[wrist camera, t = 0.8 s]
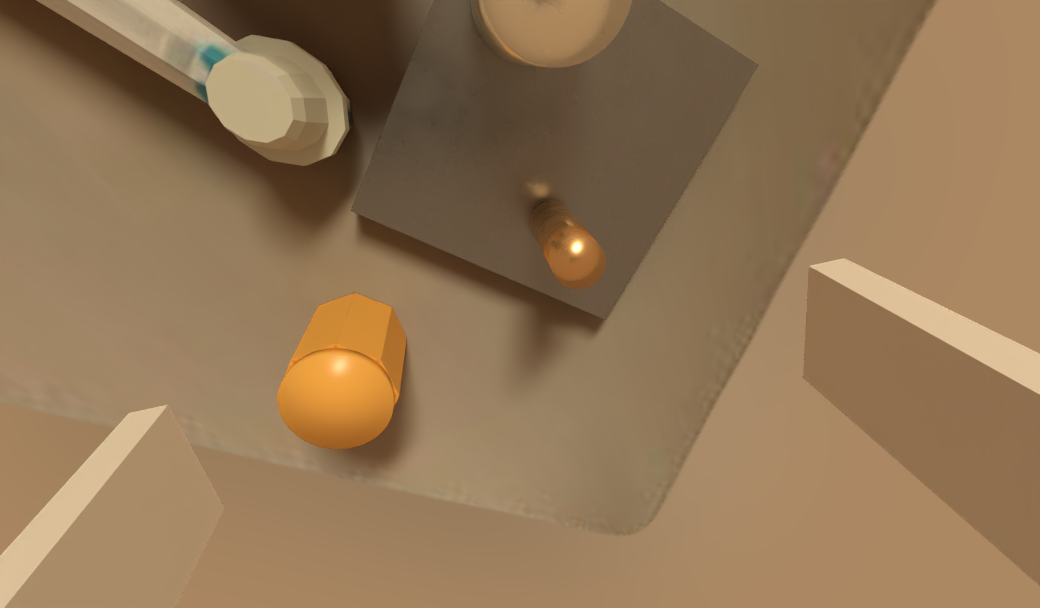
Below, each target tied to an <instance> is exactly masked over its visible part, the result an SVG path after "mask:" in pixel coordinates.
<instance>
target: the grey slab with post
mask: <svg viewBox="0 0 1040 608" xmlns="http://www.w3.org/2000/svg"><path fill="white" fill-rule="evenodd" d="M757 67H758V64H756V63H755V62H753V61H752V60H750V59H748V58H747V57H745V56H744V55H742V54H741V53H739V52H738V51H736V50H735V49H733V48H732V47H730V46H729V45H727V44H725V43H724V42H722V41H721V40H719V39H718V38H716V37H715V36H713V35H712V34H710V33H709V32H707V31H705V30H704V29H702V28H701V27H699V26H698V25H696V24H695V23H693V22H692V21H690V20H689V19H687V18H686V17H684V16H682V15H681V14H679V13H678V12H676V11H675V10H673V9H672V8H670V7H669V6H667V5H666V4H664V3H662V2H661V1H659V0H434V2H433V4H432V7H431V9H430V12H429V14H428V17H427V19H426V22H425V24H424V27H423V29H422V32H421V35H420V37H419V40H418V42H417V45H416V47H415V50H414V52H413V55H412V57H411V60H410V62H409V65H408V67H407V70H406V72H405V75H404V77H403V80H402V82H401V85H400V87H399V90H398V93H397V95H396V98H395V100H394V103H393V105H392V108H391V110H390V113H389V115H388V118H387V120H386V123H385V125H384V128H383V130H382V133H381V135H380V138H379V140H378V143H377V145H376V148H375V151H374V153H373V156H372V158H371V161H370V163H369V166H368V168H367V171H366V173H365V176H364V178H363V181H362V183H361V186H360V188H359V191H358V193H357V196H356V198H355V201H354V203H353V206H352V209H351V211H352V212H354V213H357V214H359V215H361V216H364V217H366V218H368V219H371V220H373V221H375V222H378V223H380V224H382V225H385V226H387V227H389V228H392V229H394V230H396V231H399V232H401V233H403V234H406V235H408V236H410V237H413V238H415V239H417V240H420V241H422V242H424V243H427V244H429V245H431V246H434V247H436V248H438V249H441V250H443V251H445V252H448V253H450V254H452V255H455V256H457V257H459V258H462V259H464V260H466V261H469V262H471V263H473V264H476V265H478V266H480V267H483V268H485V269H487V270H490V271H492V272H494V273H497V274H499V275H501V276H504V277H506V278H508V279H511V280H513V281H515V282H518V283H520V284H522V285H525V286H527V287H529V288H532V289H534V290H536V291H539V292H541V293H543V294H546V295H548V296H550V297H553V298H555V299H557V300H560V301H562V302H565V303H567V304H569V305H572V306H574V307H576V308H579V309H581V310H583V311H586V312H588V313H590V314H593V315H595V316H597V317H600V318H602V319H604V320H606V319H607V317H608V315H609V314H610V312H611V310H612V309H613V307H614V305H615V304H616V302H617V300H618V299H619V297H620V295H621V294H622V292H623V290H624V289H625V287H626V285H627V284H628V282H629V280H630V279H631V277H632V275H633V274H634V272H635V270H636V269H637V267H638V265H639V264H640V262H641V260H642V259H643V257H644V255H645V254H646V252H647V250H648V249H649V247H650V245H651V244H652V242H653V240H654V239H655V237H656V235H657V234H658V232H659V230H660V229H661V227H662V225H663V224H664V222H665V220H666V219H667V217H668V215H669V214H670V212H671V210H672V209H673V207H674V205H675V204H676V202H677V200H678V199H679V197H680V195H681V194H682V192H683V190H684V189H685V187H686V185H687V184H688V182H689V180H690V179H691V177H692V175H693V174H694V172H695V170H696V169H697V167H698V165H699V164H700V162H701V160H702V159H703V157H704V155H705V154H706V152H707V150H708V149H709V147H710V145H711V144H712V142H713V140H714V139H715V137H716V135H717V134H718V132H719V130H720V129H721V127H722V125H723V124H724V122H725V120H726V119H727V117H728V115H729V114H730V112H731V110H732V109H733V107H734V105H735V104H736V102H737V100H738V99H739V97H740V95H741V94H742V92H743V90H744V89H745V87H746V85H747V84H748V82H749V80H750V79H751V77H752V75H753V74H754V72H755V70H756V69H757Z"/></svg>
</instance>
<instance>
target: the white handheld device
mask: <svg viewBox="0 0 1040 608" xmlns="http://www.w3.org/2000/svg"><path fill="white" fill-rule="evenodd" d="M36 1H38V2H40V3H41V4H43V5H45V6H46V7H48V8H50V9H51V10H53V11H55V12H56V13H58V14H59V15H61V16H63V17H64V18H66V19H68V20H69V21H71V22H73V23H74V24H76V25H78V26H79V27H81V28H83V29H84V30H86V31H88V32H89V33H91V34H93V35H94V36H96V37H98V38H99V39H101V40H103V41H104V42H106V43H108V44H109V45H111V46H113V47H114V48H116V49H118V50H119V51H121V52H123V53H124V54H126V55H128V56H129V57H131V58H133V59H134V60H136V61H138V62H139V63H141V64H143V65H144V66H146V67H147V68H149V69H151V70H152V71H154V72H156V73H157V74H159V75H161V76H162V77H164V78H166V79H167V80H169V81H171V82H172V83H174V84H176V85H177V86H179V87H181V88H182V89H184V90H186V91H187V92H189V93H191V94H192V95H194V96H196V97H197V98H199V99H201V100H202V101H204V102H206V103H207V104H209V106H210V107H211V109H212V110H213V111H214V113H215V114H216V116H217V117H218V118H219V120H220V121H221V123H222V124H223V125H224V127H225V128H226V129H227V130H229V131H230V132H232V133H233V134H234V135H235V137H236V138H237V139H238V140H239V141H240V142H242V143H243V144H245V145H246V146H248V147H250V148H251V149H253V150H254V151H256V152H257V153H259V154H260V155H262V156H264V157H265V158H267V159H268V160H270V161H275V162H281V163H288V164H294V165H300V166H306V165H310V164H312V163H314V162H317V161H319V160H322V159H324V158H327V157H329V156H332V155H334V154H336V152H337V150H338V149H339V147H340V145H341V144H342V142H343V140H344V138H345V137H346V135H347V133H348V131H349V130H350V128H351V126H352V120H351V109H350V99H348V98H347V97H346V95H345V94H344V92H343V91H342V89H341V87H340V86H339V84H338V83H337V81H336V79H335V78H334V76H333V73H332V72H331V71H330V70H329V69H328V68H327V66H326V65H325V64H323V63H322V62H321V61H319V60H318V59H316V58H315V57H313V56H312V55H311V54H309V53H308V52H306V51H305V50H303V49H302V48H300V47H299V46H298V45H296V44H295V43H293V42H290V41H285V40H280V39H274V38H268V37H262V36H257V35H250V36H247V37H245V38H243V39H240V40H238V41H234V40H233V39H231V38H230V37H229V36H227V35H226V34H224V33H223V32H222V31H220V30H219V29H217V28H216V27H215V26H213V25H212V24H210V23H209V22H208V21H206V20H205V19H203V18H202V17H201V16H199V15H198V14H196V13H195V12H194V11H192V10H191V9H189V8H188V7H187V6H185V5H184V4H182V3H181V2H180V1H178V0H36Z"/></svg>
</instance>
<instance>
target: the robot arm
mask: <svg viewBox="0 0 1040 608" xmlns="http://www.w3.org/2000/svg"><path fill="white" fill-rule="evenodd" d="M808 275H809V276H808V294H807V313H806V332H805V351H804V352H805V353H804V370H803V378H804V379H805V380H806V381H807V382H808V383H809V384H811V385H812V386H813V387H814V388H815V389H816V390H817V391H818V392H820V393H821V394H822V395H823V396H824V397H825V398H826V399H828V400H829V401H830V402H831V403H832V404H833V405H834V406H836V407H837V408H838V409H839V410H840V411H841V412H842V413H844V414H845V415H846V416H847V417H848V418H849V419H850V420H852V421H853V422H854V423H855V424H856V425H857V426H858V427H859V428H861V429H862V430H863V431H864V432H865V433H866V434H867V435H869V436H870V437H871V438H872V439H873V440H874V441H876V442H877V443H878V444H879V445H880V446H881V447H882V448H883V449H885V450H886V451H887V452H888V453H889V454H890V455H891V456H892V457H894V458H895V459H896V460H897V461H898V462H899V463H900V464H902V465H903V466H904V467H905V468H906V469H908V471H910V472H911V473H912V474H913V475H914V476H915V477H917V478H918V479H919V480H920V481H921V482H922V483H923V484H925V485H926V486H927V487H928V488H929V489H930V490H931V491H932V492H933V493H935V494H936V495H937V496H938V497H939V498H940V499H942V500H943V501H944V502H945V503H946V504H947V505H948V506H949V507H951V508H952V509H953V510H954V511H955V512H956V513H957V514H959V515H960V516H961V517H962V518H963V519H964V520H965V521H967V522H968V523H969V524H970V525H971V526H972V527H973V528H975V529H976V530H977V531H978V532H979V533H980V534H981V535H982V536H984V537H985V538H986V539H987V540H988V541H989V542H990V543H992V544H993V545H994V546H995V547H996V548H997V549H999V550H1000V551H1001V552H1002V553H1003V554H1004V555H1005V556H1006V557H1007V558H1009V559H1010V560H1011V561H1012V562H1014V564H1015V565H1017V566H1018V567H1019V568H1020V569H1021V570H1022V571H1023V572H1025V573H1026V574H1027V575H1028V576H1029V577H1030V578H1031V579H1033V580H1034V581H1035V582H1036V583H1037V584H1038V585H1039V586H1040V354H1039V353H1037V352H1035V351H1033V350H1031V349H1029V348H1027V347H1025V346H1023V345H1020V344H1019V343H1016V342H1014V341H1012V340H1010V339H1008V338H1006V337H1004V336H1002V335H1000V334H998V333H996V332H994V331H992V330H990V329H988V328H986V327H984V326H982V325H980V324H977V323H975V322H974V321H971V320H969V319H967V318H965V317H963V316H961V315H959V314H957V313H955V312H953V311H951V310H949V309H947V308H945V307H943V306H941V305H939V304H936V303H935V302H933V301H931V300H928V299H926V298H924V297H922V296H920V295H918V294H916V293H914V292H912V291H910V290H908V289H906V288H904V287H902V286H899V285H898V284H896V283H894V282H892V281H890V280H888V279H886V278H883V277H881V276H879V275H877V274H875V273H873V272H871V271H869V270H867V269H865V268H863V267H861V266H859V265H857V264H855V263H853V262H851V261H849V260H847V259H845V258H844V259H839V260H835V261H830V262H825V263H821V264H816V265H812V266H809V274H808ZM223 510H224V506H223V505H222V503H221V501H220V499H219V497H218V496H217V494H216V492H215V490H214V488H213V486H212V484H211V483H210V481H209V479H208V477H207V475H206V473H205V472H204V470H203V468H202V466H201V464H200V462H199V461H198V459H197V457H196V455H195V453H194V451H193V449H192V447H191V446H190V444H189V442H188V440H187V438H186V436H185V435H184V433H183V431H182V429H181V427H180V425H179V424H178V422H177V420H176V418H175V416H174V414H173V412H172V411H171V409H170V407H169V405H165V406H160V407H155V408H151V409H146V410H141V411H137V412H132V413H129V414H128V415H127V416H126V417H125V418H124V419H123V420H122V421H121V422H120V424H119V425H118V426H117V427H116V428H115V429H114V430H113V431H112V433H111V434H110V435H109V436H108V437H107V438H106V439H105V440H104V441H103V442H102V444H101V445H100V446H99V447H98V448H97V449H96V450H95V451H94V452H93V454H92V455H91V456H90V457H89V458H88V459H87V460H86V461H85V463H84V464H83V465H82V466H81V467H80V468H79V469H78V470H77V471H76V472H75V474H74V475H73V476H72V477H71V478H70V479H69V480H68V481H67V482H66V484H65V485H64V486H63V487H62V488H61V489H60V490H59V491H58V492H57V494H56V495H55V496H54V497H53V498H52V499H51V500H50V501H49V502H48V503H47V505H46V506H45V507H44V508H43V509H42V510H41V511H40V512H39V514H38V515H37V516H36V517H35V518H34V519H33V520H32V521H31V522H30V524H29V525H28V526H27V527H26V528H25V529H24V530H23V531H22V532H21V533H20V535H19V536H18V537H17V538H16V539H15V540H14V541H13V542H12V544H11V545H10V546H9V547H8V548H7V549H6V550H5V551H4V552H3V554H1V556H0V608H176V606H177V604H178V602H179V600H180V598H181V596H182V594H183V591H184V590H185V588H186V586H187V583H188V581H189V579H190V577H191V575H192V573H193V571H194V569H195V567H196V565H197V563H198V561H199V559H200V557H201V555H202V553H203V551H204V549H205V547H206V545H207V543H208V541H209V539H210V537H211V535H212V533H213V531H214V529H215V526H216V525H217V523H218V521H219V519H220V516H221V515H222V513H223Z"/></svg>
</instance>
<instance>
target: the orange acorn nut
mask: <svg viewBox="0 0 1040 608" xmlns="http://www.w3.org/2000/svg"><path fill="white" fill-rule="evenodd" d="M406 340H407V338H406V336H405V334H404V331H403V329H402V327H401V325H400V323H399V321H398V319H397V317H396V315H395V313H394V311H393V308H392V307H391V306H388V305H385V304H383V303H380V302H377V301H375V300H372V299H370V298H367V297H364V296H362V295H359V294H357V293H353V294H350V295H347V296H345V297H342V298H339V299H336V300H333V301H330V302H328V303H325V304H322V305H319V306H318V308H317V310H316V312H315V314H314V316H313V318H312V320H311V322H310V324H309V326H308V328H307V330H306V331H305V333H304V335H303V337H302V339H301V341H300V343H299V345H298V347H297V349H296V351H295V353H294V355H293V357H292V359H291V361H290V364H289V366H288V369H287V372H286V374H285V377H284V379H283V381H282V383H281V385H280V388H279V391H278V394H277V401H278V409H279V412H280V415H281V417H282V419H283V421H284V423H285V424H286V425H287V427H288V428H289V429H290V430H291V431H292V432H293V433H294V434H295V435H297V436H298V437H299V438H301V439H303V440H304V441H306V442H308V443H310V444H313V445H316V446H319V447H323V448H330V449H347V448H353V447H357V446H360V445H363V444H365V443H367V442H369V441H371V440H373V439H374V438H376V437H377V436H378V435H379V434H380V433H381V432H382V431H383V430H384V429H385V428H386V426H387V425H388V423H389V421H390V419H391V417H392V413H393V408H394V406H395V404H396V402H397V399H398V397H399V394H400V386H401V379H402V371H403V363H404V356H405V348H406Z"/></svg>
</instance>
